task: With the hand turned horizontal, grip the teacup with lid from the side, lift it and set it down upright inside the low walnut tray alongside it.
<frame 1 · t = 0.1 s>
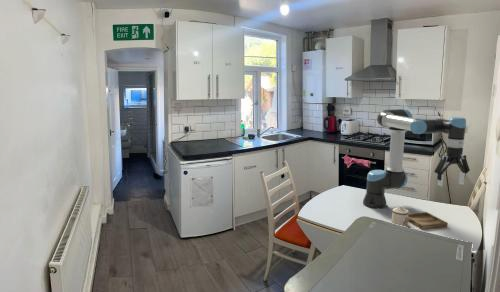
hand: (450, 184, 191), 28 cm above the table, tool pointing down, fingers open, 13 cm apart
tray: (424, 222, 211), on the table
teacup with lid: (399, 224, 208), on the table
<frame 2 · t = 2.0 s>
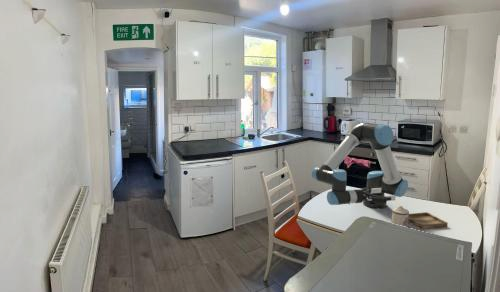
hand: (387, 193, 202), 20 cm above the table, tool horizontal, fingers open, 13 cm apart
nothing on the table moved.
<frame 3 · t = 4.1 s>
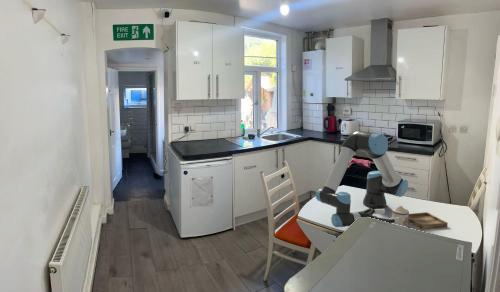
hand: (391, 215, 205), 6 cm above the table, tool horizontal, fingers open, 13 cm apart
nothing on the table moved.
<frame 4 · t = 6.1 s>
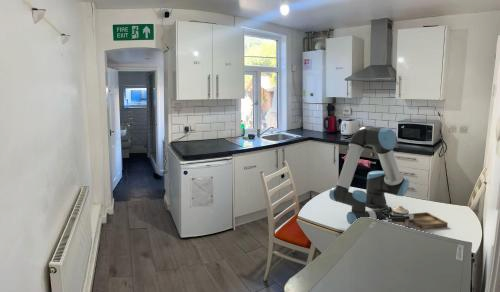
hand: (407, 213, 208), 7 cm above the table, tool horizontal, fingers closed on teacup with lid, 10 cm apart
teacup with lid: (399, 224, 208), on the table, touching gripper
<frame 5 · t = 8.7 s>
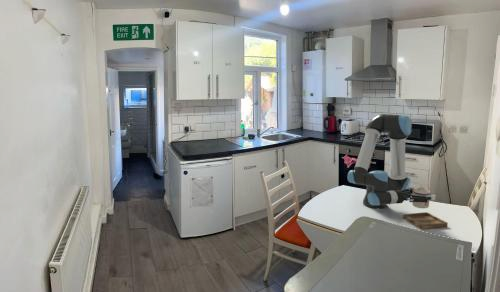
hand: (428, 194, 206), 18 cm above the table, tool horizontal, fingers closed on teacup with lid, 10 cm apart
teacup with lid: (420, 205, 207), point 11 cm above the table, touching gripper
when the fingers open (9 cm above the table, at t = 11.3 s): teacup with lid moves 3 cm, resting on tray.
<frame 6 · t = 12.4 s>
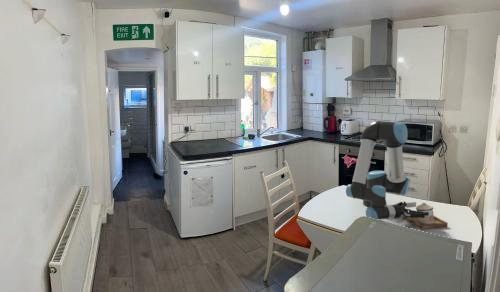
hand: (423, 208, 208), 9 cm above the table, tool horizontal, fingers open, 13 cm apart
teacup with lid: (426, 221, 208), point 2 cm above the table, touching gripper, tray
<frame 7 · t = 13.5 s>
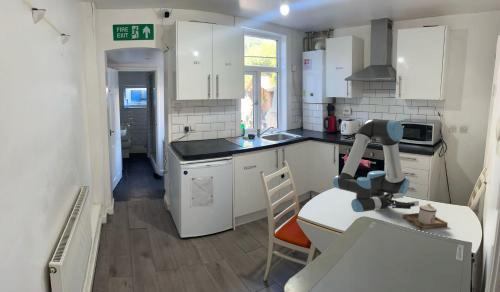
hand: (410, 199, 206), 15 cm above the table, tool horizontal, fingers open, 13 cm apart
teacup with lid: (425, 222, 208), point 1 cm above the table, touching tray
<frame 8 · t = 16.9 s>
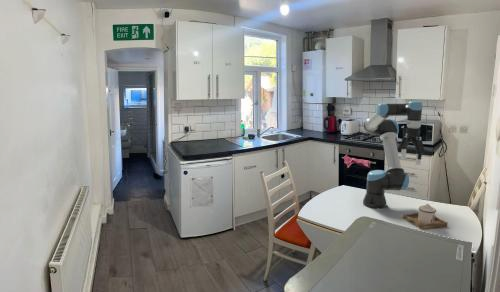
hand: (410, 161, 215), 35 cm above the table, tool pointing down, fingers open, 13 cm apart
nothing on the table moved.
at the end: teacup with lid inside the target area on the tray (2.0 cm from its centre), point 0.8 cm above the tray's base; teacup with lid tilted 1°; the gripper is holding nothing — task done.
